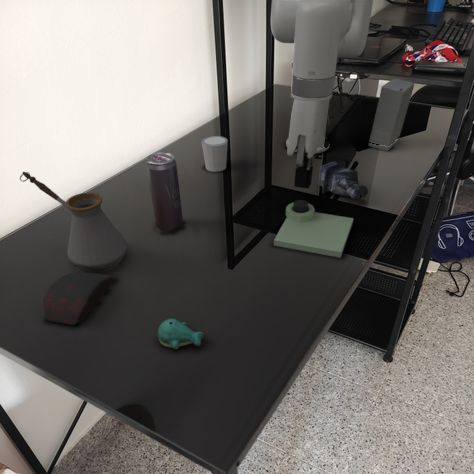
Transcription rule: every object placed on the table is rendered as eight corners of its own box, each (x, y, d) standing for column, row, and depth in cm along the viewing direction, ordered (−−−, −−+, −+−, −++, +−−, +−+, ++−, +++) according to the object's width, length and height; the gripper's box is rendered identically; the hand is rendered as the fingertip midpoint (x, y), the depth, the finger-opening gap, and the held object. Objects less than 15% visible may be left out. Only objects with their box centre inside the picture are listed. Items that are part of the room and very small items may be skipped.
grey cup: (225, 173, 114) (224, 146, 109) (200, 171, 115) (198, 144, 110) (231, 163, 119) (230, 136, 113) (206, 161, 120) (205, 134, 115)
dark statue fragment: (358, 209, 100) (363, 182, 95) (314, 190, 106) (317, 164, 102) (374, 200, 103) (380, 173, 98) (330, 182, 109) (334, 156, 105)
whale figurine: (167, 325, 73) (164, 308, 70) (208, 332, 72) (206, 315, 69) (153, 349, 69) (150, 332, 66) (197, 357, 68) (195, 340, 65)
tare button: (295, 205, 96) (295, 198, 95) (309, 207, 95) (309, 201, 94) (291, 212, 94) (291, 205, 93) (305, 214, 93) (306, 208, 92)
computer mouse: (40, 320, 74) (32, 302, 71) (80, 274, 83) (74, 256, 81) (82, 327, 73) (75, 309, 70) (118, 280, 82) (113, 262, 79)
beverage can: (172, 216, 98) (163, 149, 88) (188, 226, 95) (181, 157, 85) (151, 226, 96) (139, 158, 85) (167, 236, 93) (157, 166, 82)
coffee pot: (141, 255, 88) (126, 183, 77) (102, 284, 81) (79, 211, 70) (67, 228, 96) (44, 159, 85) (26, 253, 89) (-5, 182, 78)
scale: (289, 212, 99) (290, 200, 97) (353, 222, 95) (355, 210, 93) (271, 245, 90) (271, 232, 87) (340, 258, 86) (343, 245, 84)
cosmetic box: (378, 137, 130) (391, 77, 118) (401, 142, 127) (416, 81, 115) (366, 146, 125) (378, 84, 114) (390, 152, 122) (405, 89, 111)
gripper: (302, 74, 83) (294, 169, 96) (280, 96, 73) (275, 199, 86) (340, 77, 81) (327, 174, 94) (324, 100, 71) (311, 204, 84)
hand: (302, 185), depth 90 cm, fingers closed
